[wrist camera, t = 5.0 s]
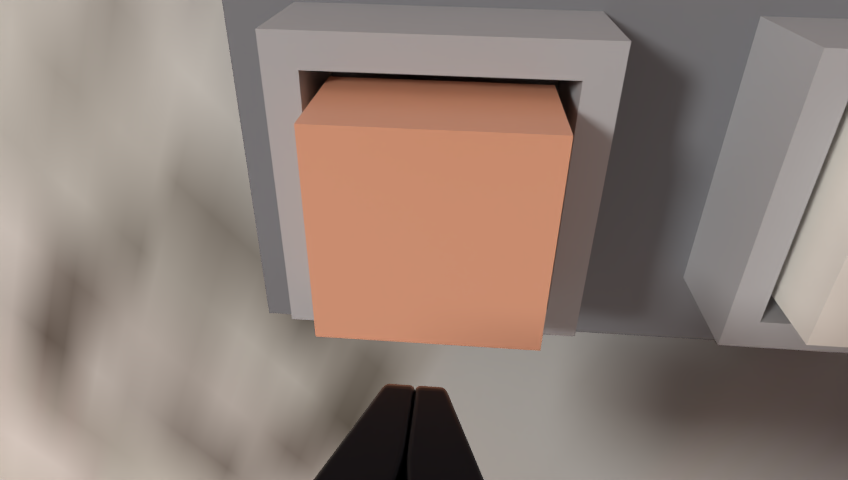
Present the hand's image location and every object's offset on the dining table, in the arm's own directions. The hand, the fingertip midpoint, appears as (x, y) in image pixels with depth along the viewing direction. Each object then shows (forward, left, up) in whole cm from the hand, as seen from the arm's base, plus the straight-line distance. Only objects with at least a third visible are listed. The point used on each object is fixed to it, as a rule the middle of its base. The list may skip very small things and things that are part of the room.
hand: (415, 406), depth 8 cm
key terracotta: (0, 0, -7) cm, 7 cm away
